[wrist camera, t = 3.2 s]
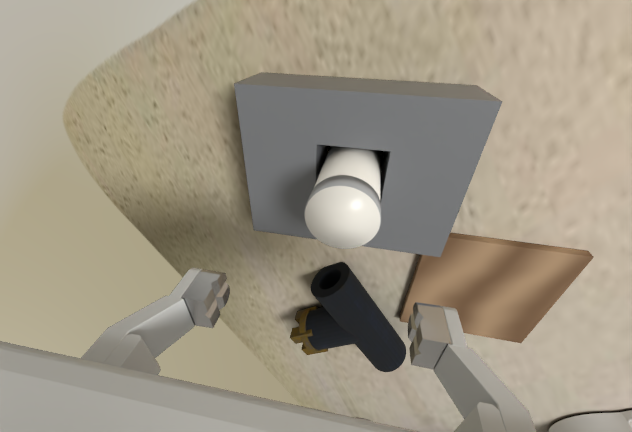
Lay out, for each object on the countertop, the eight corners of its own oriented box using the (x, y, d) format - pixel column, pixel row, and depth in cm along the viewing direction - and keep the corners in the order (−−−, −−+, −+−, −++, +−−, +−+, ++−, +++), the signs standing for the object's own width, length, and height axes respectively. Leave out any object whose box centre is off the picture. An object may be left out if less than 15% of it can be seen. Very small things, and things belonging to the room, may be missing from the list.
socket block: (477, 85, 19) (502, 101, 15) (431, 221, 26) (440, 257, 22) (261, 72, 22) (233, 83, 18) (271, 201, 29) (253, 230, 25)
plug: (385, 131, 22) (387, 191, 14) (376, 180, 25) (374, 254, 17) (330, 126, 23) (303, 181, 15) (327, 174, 26) (303, 243, 18)
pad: (588, 251, 25) (593, 257, 24) (518, 336, 33) (521, 343, 32) (428, 229, 27) (429, 234, 26) (399, 315, 35) (399, 321, 34)
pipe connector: (327, 381, 38) (261, 316, 32) (332, 345, 42) (275, 282, 36) (408, 370, 33) (347, 291, 27) (404, 331, 37) (351, 255, 31)
